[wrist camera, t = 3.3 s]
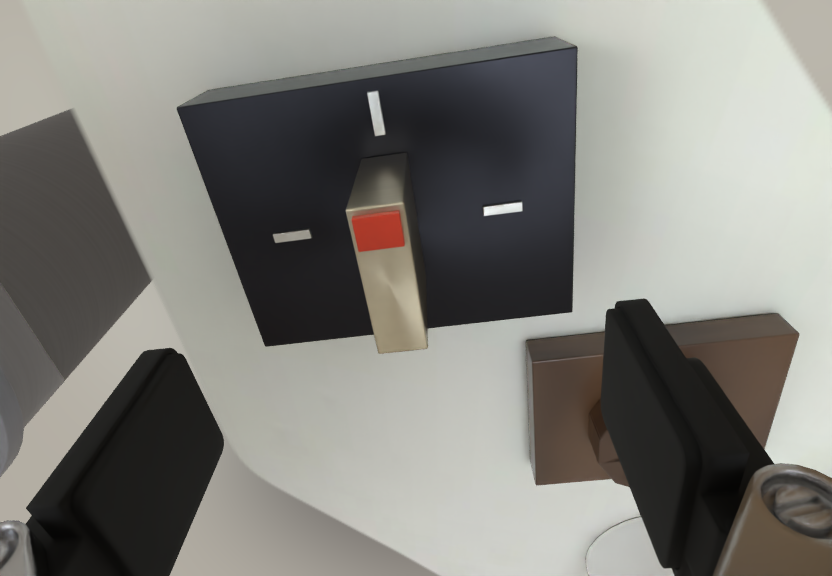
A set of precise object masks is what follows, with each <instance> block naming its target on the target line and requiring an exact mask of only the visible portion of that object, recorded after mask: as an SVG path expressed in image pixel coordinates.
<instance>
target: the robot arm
mask: <svg viewBox="0 0 832 576" xmlns="http://www.w3.org/2000/svg"><path fill="white" fill-rule="evenodd" d="M601 412H602V417H603V420H604V422H605V425H606V428H607V430H608V433H609V435H610V438H611V440H612V443H613V445H614V448H615V451H616V453H617V456H618V458H619V461H620V463H621V466H622V469H623V471H624V474H625V476H626V479H627V481H628V484H629V486H630V489H631V492H632V494H633V497H634V499H635V502H636V504H637V507H638V510H639V512H640V515H641V517H642V520H643V522H644V525H645V527H646V530H647V533H648V535H649V538H650V540H651V543H652V545H653V548H654V551H655V553H656V556H657V558H658V560H659V563H660V565H661V566H662V567H663V568H664V569H666V568H672V571H673V573H674V576H832V478H830V477H828V476H826V475H824V474H822V473H820V472H818V471H816V470H813V469H810V468H806V467H803V466H799V465H793V464H782V463H780V464H774V463H773V461H772V460H771V459H770V457H769V456H768V454H767V453H766V451H765V450H764V449H763V447H762V446H761V444H760V443H759V441H758V440H757V439H756V437H755V436H754V434H753V433H752V431H751V430H750V429H749V427H748V426H747V424H746V423H745V421H744V420H743V419H742V417H741V416H740V414H739V413H738V411H737V410H736V409H735V407H734V406H733V404H732V403H731V401H730V400H729V399H728V397H727V396H726V394H725V393H724V392H723V390H722V389H721V387H720V386H719V384H718V383H717V382H716V380H715V379H714V377H713V376H712V374H711V373H710V372H709V370H708V369H707V367H706V366H705V365H704V363H703V362H702V361H701V360H700V359H698V358H696V357H694V358H686V357H685V355H684V354H683V352H682V351H681V349H680V348H679V346H678V345H677V343H676V342H675V340H674V339H673V337H672V336H671V334H670V333H669V331H668V330H667V328H666V327H665V325H664V324H663V322H662V321H661V319H660V318H659V316H658V315H657V313H656V312H655V310H654V309H653V307H652V306H651V304H650V303H649V302H648V300H647V299H636V300H627V301H618V302H616V304H615V309H608V310H607V312H606V323H605V339H604V355H603V370H602V386H601ZM223 446H224V439H223V435H222V433H221V431H220V429H219V427H218V425H217V422H216V420H215V418H214V416H213V414H212V412H211V410H210V408H209V406H208V404H207V402H206V400H205V398H204V396H203V394H202V392H201V390H200V387H199V385H198V383H197V381H196V379H195V377H194V375H193V373H192V371H191V369H190V367H189V365H188V363H187V361H186V359H185V357H184V356H183V355H182V354H178V353H177V352H176V351H175V350H174V349H172V348H165V349H156V350H147V351H144V352H143V353H142V354H141V355H140V356H139V358H138V359H137V360H136V362H135V363H134V364H133V366H132V367H131V368H130V370H129V371H128V372H127V374H126V375H125V376H124V378H123V379H122V381H121V382H120V383H119V384H118V386H117V387H116V388H115V390H114V391H113V393H112V394H111V395H110V396H109V398H108V399H107V401H106V402H105V403H104V405H103V406H102V407H101V409H100V410H99V411H98V413H97V414H96V415H95V417H94V418H93V419H92V421H91V422H90V423H89V425H88V426H87V427H86V429H85V430H84V431H83V433H82V434H81V435H80V437H79V438H78V439H77V441H76V442H75V443H74V445H73V446H72V447H71V449H70V450H69V451H68V453H67V454H66V455H65V457H64V458H63V459H62V461H61V462H60V463H59V465H58V466H57V467H56V469H55V470H54V471H53V473H52V474H51V475H50V477H49V478H48V479H47V481H46V482H45V483H44V485H43V486H42V488H41V489H40V490H39V492H38V493H37V494H36V496H35V497H34V498H33V500H32V501H31V502H30V503H29V505H28V506H27V507H26V509H27V510H28V511H29V512H30V514H31V515H32V516H31V518H30V519H29V520H28V522H27V523H26V524H24V523H22V522H20V521H4V522H0V576H169V575H170V573H171V571H172V568H173V566H174V563H175V561H176V559H177V557H178V554H179V552H180V550H181V547H182V545H183V542H184V540H185V538H186V536H187V533H188V531H189V528H190V526H191V524H192V521H193V519H194V517H195V514H196V512H197V510H198V507H199V505H200V503H201V501H202V498H203V496H204V494H205V491H206V489H207V486H208V484H209V482H210V479H211V477H212V475H213V472H214V470H215V468H216V465H217V463H218V461H219V458H220V456H221V454H222V451H223Z"/></svg>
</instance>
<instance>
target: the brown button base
mask: <svg viewBox="0 0 832 576" xmlns="http://www.w3.org/2000/svg"><path fill="white" fill-rule="evenodd" d="M665 327H666V328H667V330H668V331H669V333H670V334H671V336H672V337H673V339H674V340H675V342H676V343H677V345H678V346H679V348H680V349H681V351H682V352H683V354H684V355H685V357H686V358H694V357H696V358H698V359H700V360H701V361H702V362H703V363H704V365H705V366H706V367H707V369H708V370H709V372H710V373H711V374H712V376H713V377H714V379H715V380H716V382H717V383H718V384H719V386H720V387H721V389H722V390H723V392H724V393H725V394H726V396H727V397H728V399H729V400H730V401H731V403H732V404H733V406H734V407H735V409H736V410H737V411H738V413H739V414H740V416H741V417H742V419H743V420H744V421H745V423H746V424H747V426H748V427H749V429H750V430H751V431H752V433H753V434H754V436H755V437H756V439H757V440H758V441H759V443H760V444H761V446H762V447H763V449H764V448H765V445H766V442H767V439H768V435H769V432H770V429H771V426H772V422H773V419H774V416H775V413H776V409H777V406H778V403H779V400H780V396H781V393H782V390H783V387H784V383H785V380H786V377H787V373H788V370H789V367H790V364H791V360H792V357H793V354H794V351H795V347H796V344H797V341H798V338H799V333H798V332H797V331H796V330H795V329H794V328H793V327H792V326H791V325H790V324H789V323H788V322H787V321H786V320H785V319H784V318H782V317H781V316H780V315H779V314H778V313H774V314H765V315H756V316H747V317H738V318H729V319H719V320H710V321H701V322H692V323H683V324H674V325H665ZM604 339H605V332H600V333H591V334H582V335H573V336H564V337H555V338H545V339H536V340H527V341H526V361H527V387H528V413H529V439H530V462H531V467H532V471H533V475H534V480H535V484H536V485H547V484H559V483H570V482H582V481H593V480H605V479H612V480H613V481H614V482H615V483H617V484H621V485H624V486H628V487H630V486H629V484H628V481H627V479H626V476H625V474H624V471H623V469H622V466H621V463H620V461H619V458H618V456H617V453H616V451H615V448H614V445H613V443H612V440H611V438H610V435H609V433H608V430H607V428H606V425H605V422H604V420H603V417H602V412H601V386H602V370H603V355H604Z"/></svg>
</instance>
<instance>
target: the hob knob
mask: <svg viewBox="0 0 832 576" xmlns="http://www.w3.org/2000/svg"><path fill="white" fill-rule="evenodd" d="M346 214H347V219H348V223H349V227H350V232H351V236H352V241H353V245H354V249H355V254H356V258H357V262H358V267H359V271H360V275H361V280H362V284H363V288H364V293H365V297H366V302H367V306H368V310H369V315H370V319H371V323H372V328H373V332H374V336H375V341H376V345H377V349H378V353H379V354H383V353H392V352H401V351H410V350H419V349H427V348H428V331H427V289H426V272H425V266H424V259H423V253H422V246H421V240H420V233H419V227H418V220H417V214H416V207H415V200H414V194H413V187H412V181H411V174H410V168H409V161H408V155H407V153H400V154H393V155H386V156H379V157H371V158H364V159H361V163H360V166H359V169H358V172H357V176H356V179H355V182H354V185H353V188H352V192H351V195H350V198H349V201H348V205H347V208H346Z"/></svg>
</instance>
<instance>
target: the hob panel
mask: <svg viewBox="0 0 832 576" xmlns="http://www.w3.org/2000/svg"><path fill="white" fill-rule="evenodd" d="M577 53H578V48H577V46H575V45H572V44H570V43H568V42H566V41H564V40H561V39H559V38H557V37H549V38H542V39H536V40H529V41H523V42H516V43H510V44H503V45H497V46H490V47H484V48H477V49H471V50H464V51H458V52H452V53H445V54H439V55H432V56H426V57H419V58H413V59H406V60H400V61H393V62H387V63H380V64H374V65H367V66H361V67H354V68H348V69H341V70H335V71H328V72H322V73H315V74H309V75H302V76H296V77H289V78H283V79H276V80H270V81H264V82H257V83H251V84H244V85H238V86H231V87H225V88H218V89H212V90H208V91H206V92H204V93H202V94H200V95H198V96H197V97H195V98H193V99H191V100H189V101H188V102H186V103H184V104H182V105H180V106H178V107H177V111H178V114H179V116H180V119H181V122H182V124H183V127H184V130H185V132H186V135H187V138H188V140H189V143H190V146H191V149H192V151H193V154H194V157H195V159H196V162H197V165H198V167H199V170H200V173H201V175H202V178H203V181H204V183H205V186H206V189H207V191H208V194H209V197H210V200H211V202H212V205H213V208H214V210H215V213H216V216H217V218H218V221H219V224H220V226H221V229H222V232H223V234H224V237H225V240H226V242H227V245H228V248H229V251H230V253H231V256H232V259H233V261H234V264H235V267H236V269H237V272H238V275H239V277H240V280H241V283H242V285H243V288H244V291H245V294H246V296H247V299H248V302H249V304H250V307H251V310H252V312H253V315H254V318H255V320H256V323H257V326H258V328H259V331H260V334H261V336H262V339H263V342H264V345H265V346H266V347H267V346H276V345H285V344H293V343H302V342H311V341H320V340H329V339H338V338H347V337H356V336H364V335H373V334H374V332H373V328H372V323H371V319H370V315H369V310H368V306H367V302H366V297H365V293H364V288H363V284H362V280H361V275H360V271H359V267H358V262H357V258H356V254H355V249H354V245H353V241H352V236H351V232H350V227H349V223H348V219H347V214H346V208H347V205H348V201H349V198H350V195H351V192H352V188H353V185H354V182H355V179H356V176H357V172H358V169H359V166H360V163H361V159H364V158H371V157H379V156H386V155H393V154H400V153H407V155H408V161H409V168H410V174H411V181H412V187H413V194H414V200H415V207H416V214H417V220H418V227H419V233H420V240H421V246H422V253H423V259H424V266H425V272H426V289H427V328H435V327H444V326H453V325H462V324H471V323H480V322H489V321H498V320H506V319H515V318H524V317H533V316H542V315H551V314H560V313H569V312H572V305H573V254H574V204H575V154H576V103H577Z"/></svg>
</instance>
